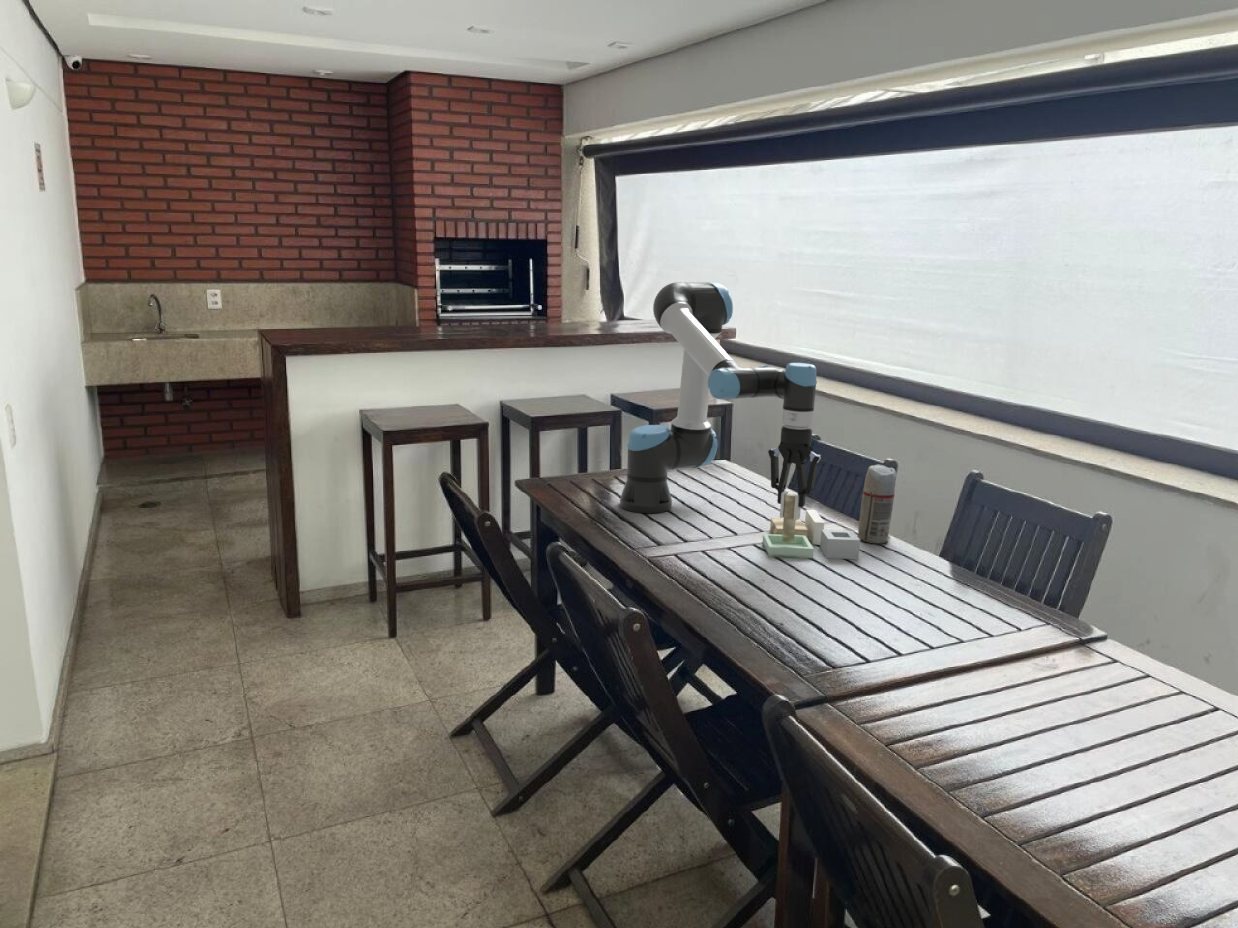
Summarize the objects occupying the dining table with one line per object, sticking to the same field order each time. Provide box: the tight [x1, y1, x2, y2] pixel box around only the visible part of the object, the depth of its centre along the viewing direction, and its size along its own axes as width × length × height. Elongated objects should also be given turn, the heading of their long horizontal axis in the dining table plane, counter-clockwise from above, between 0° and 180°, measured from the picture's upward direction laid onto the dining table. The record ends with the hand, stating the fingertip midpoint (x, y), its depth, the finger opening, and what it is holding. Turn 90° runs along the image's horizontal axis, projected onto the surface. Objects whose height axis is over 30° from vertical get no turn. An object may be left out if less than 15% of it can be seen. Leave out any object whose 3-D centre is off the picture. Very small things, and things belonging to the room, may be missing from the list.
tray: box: [762, 533, 815, 559], centre depth 246 cm, size 11×11×2 cm
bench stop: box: [804, 509, 825, 546], centre depth 257 cm, size 12×2×6 cm, turn 0°
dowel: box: [782, 493, 797, 543], centre depth 244 cm, size 3×3×12 cm
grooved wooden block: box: [769, 517, 808, 538], centre depth 257 cm, size 10×8×4 cm
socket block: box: [819, 529, 861, 560], centre depth 245 cm, size 8×8×5 cm
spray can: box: [857, 463, 898, 544], centre depth 256 cm, size 8×8×20 cm
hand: (789, 517), depth 244 cm, fingers closed on dowel, 3 cm apart
